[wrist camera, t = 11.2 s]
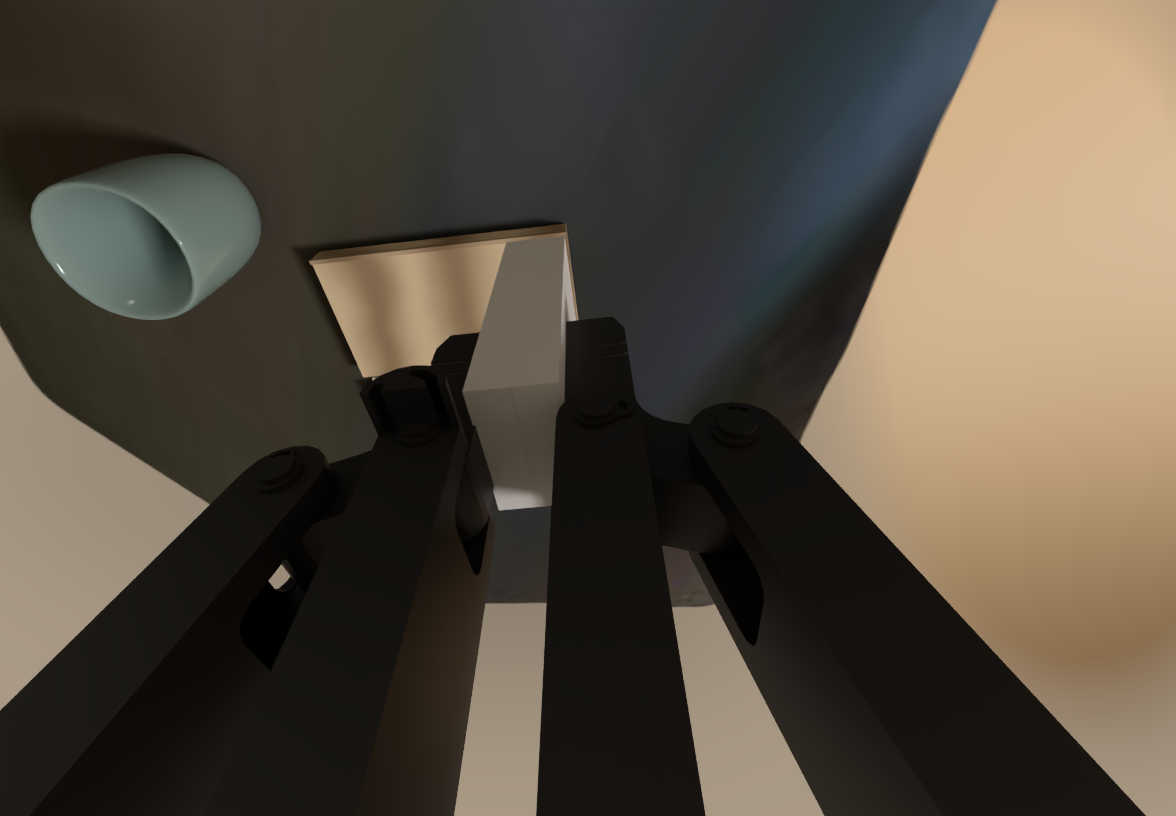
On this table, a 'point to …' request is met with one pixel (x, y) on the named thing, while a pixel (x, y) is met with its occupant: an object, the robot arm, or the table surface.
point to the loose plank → (415, 293)
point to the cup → (148, 232)
